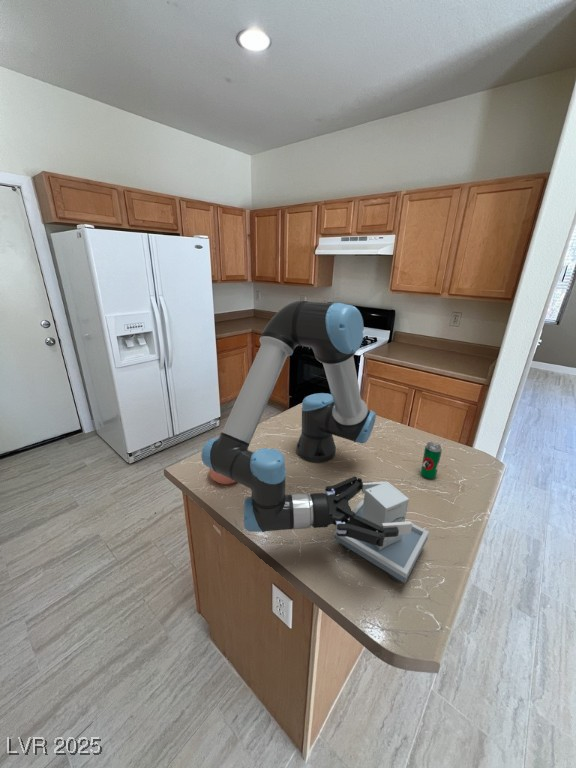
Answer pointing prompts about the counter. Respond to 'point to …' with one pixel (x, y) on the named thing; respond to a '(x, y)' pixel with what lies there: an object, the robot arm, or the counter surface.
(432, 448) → the soda can
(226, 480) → the sugar bowl
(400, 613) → the counter surface
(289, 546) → the counter surface
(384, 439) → the counter surface
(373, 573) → the counter surface
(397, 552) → the shallow rimmed tray
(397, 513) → the supplement box
